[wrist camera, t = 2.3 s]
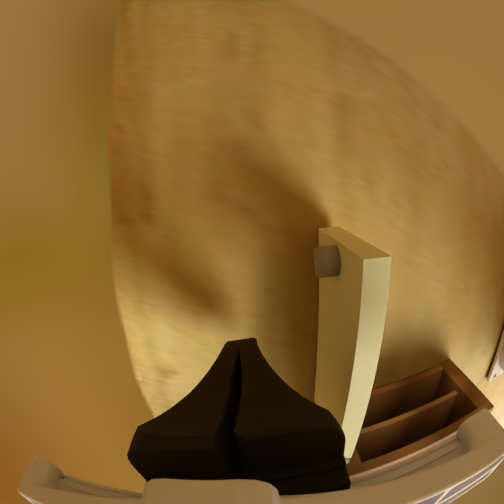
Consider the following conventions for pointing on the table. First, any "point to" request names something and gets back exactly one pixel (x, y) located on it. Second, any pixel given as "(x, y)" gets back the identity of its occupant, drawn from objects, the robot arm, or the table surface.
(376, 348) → the door
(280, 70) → the table surface
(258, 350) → the robot arm
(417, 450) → the cabinet
